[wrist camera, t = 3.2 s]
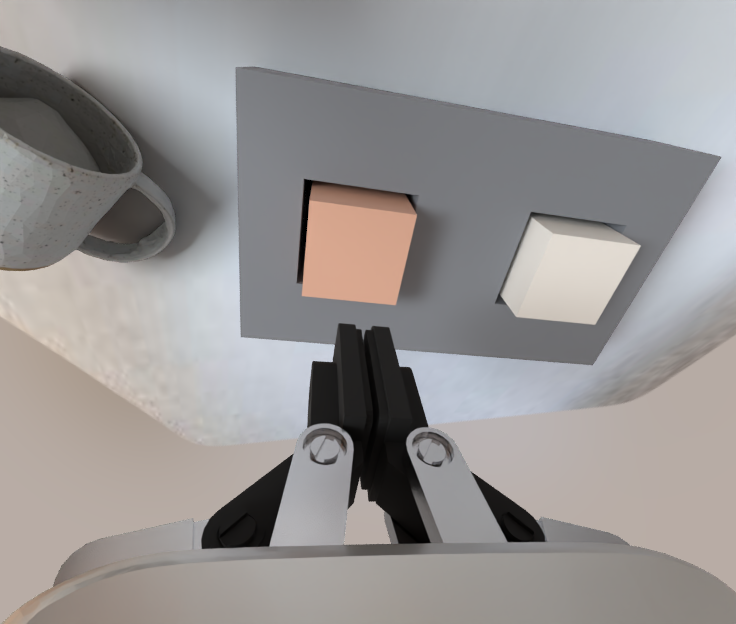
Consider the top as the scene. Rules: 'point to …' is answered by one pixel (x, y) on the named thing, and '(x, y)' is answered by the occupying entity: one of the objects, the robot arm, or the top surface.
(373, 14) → the top surface
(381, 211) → the light orange cube
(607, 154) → the key panel
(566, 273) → the white key
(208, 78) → the top surface
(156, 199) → the ceramic mug
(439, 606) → the robot arm
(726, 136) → the top surface
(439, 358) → the top surface
